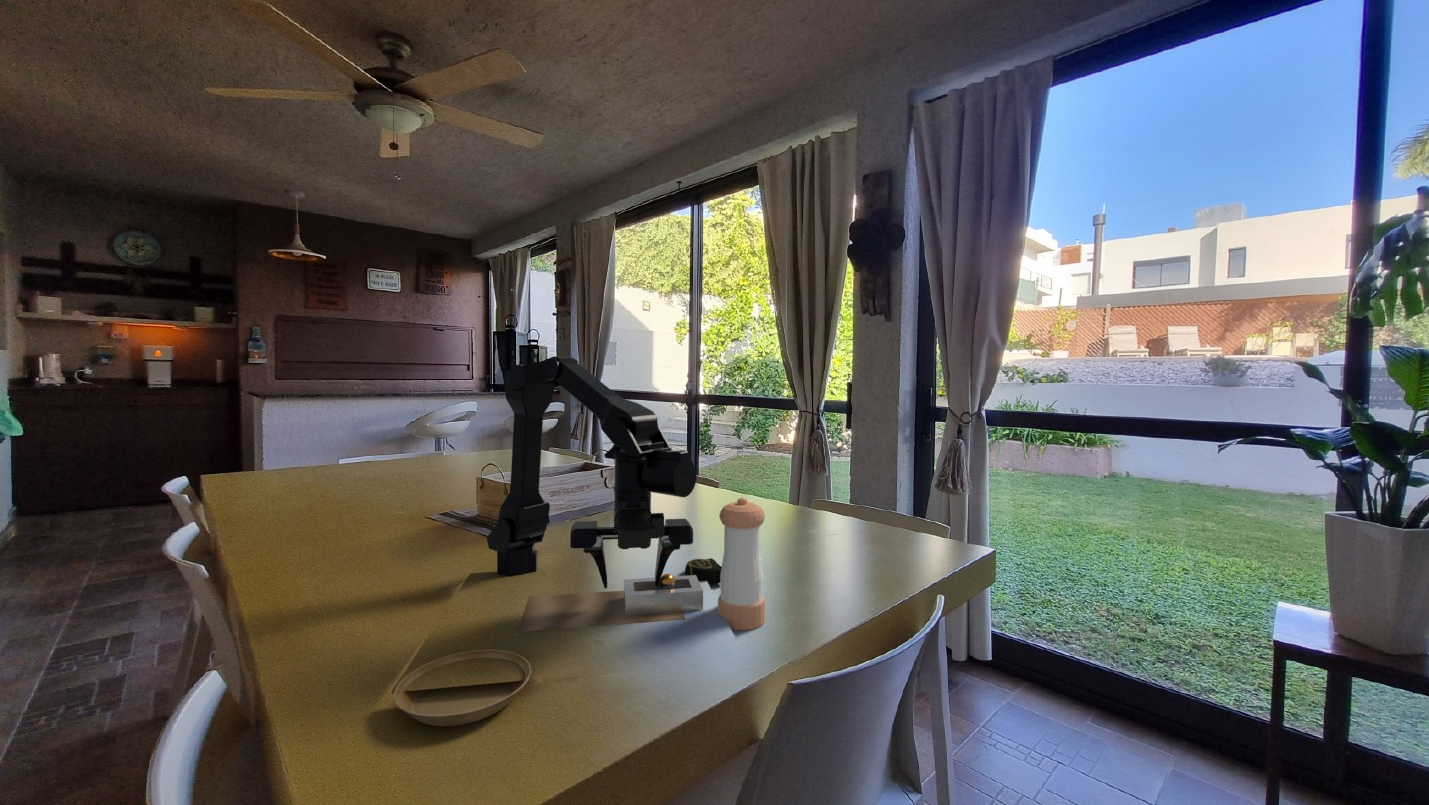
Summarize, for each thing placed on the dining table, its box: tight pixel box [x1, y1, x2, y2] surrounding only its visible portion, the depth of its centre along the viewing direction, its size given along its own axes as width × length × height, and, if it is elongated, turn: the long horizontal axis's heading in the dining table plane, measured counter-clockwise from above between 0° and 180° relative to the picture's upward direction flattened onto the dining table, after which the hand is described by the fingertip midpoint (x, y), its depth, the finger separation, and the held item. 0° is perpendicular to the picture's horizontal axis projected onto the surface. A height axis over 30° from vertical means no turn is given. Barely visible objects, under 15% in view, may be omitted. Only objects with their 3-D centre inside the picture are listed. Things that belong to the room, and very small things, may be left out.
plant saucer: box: [393, 649, 532, 727], centre depth 67 cm, size 15×15×3 cm
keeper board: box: [517, 590, 686, 633], centre depth 90 cm, size 24×13×2 cm, turn 101°
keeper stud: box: [660, 573, 675, 590], centre depth 92 cm, size 2×2×5 cm
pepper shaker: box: [717, 497, 766, 631], centre depth 89 cm, size 7×7×19 cm
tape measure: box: [684, 557, 722, 586], centre depth 105 cm, size 7×7×4 cm
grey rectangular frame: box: [623, 575, 704, 615], centre depth 91 cm, size 12×7×3 cm, turn 101°
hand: (631, 586), depth 91 cm, fingers open, 8 cm apart
